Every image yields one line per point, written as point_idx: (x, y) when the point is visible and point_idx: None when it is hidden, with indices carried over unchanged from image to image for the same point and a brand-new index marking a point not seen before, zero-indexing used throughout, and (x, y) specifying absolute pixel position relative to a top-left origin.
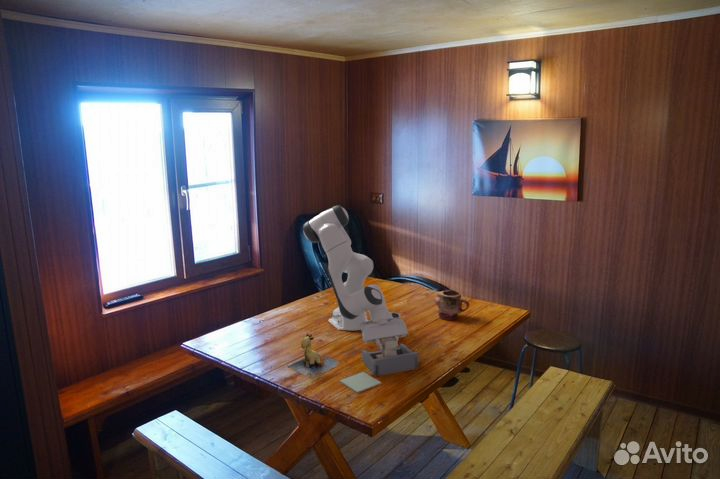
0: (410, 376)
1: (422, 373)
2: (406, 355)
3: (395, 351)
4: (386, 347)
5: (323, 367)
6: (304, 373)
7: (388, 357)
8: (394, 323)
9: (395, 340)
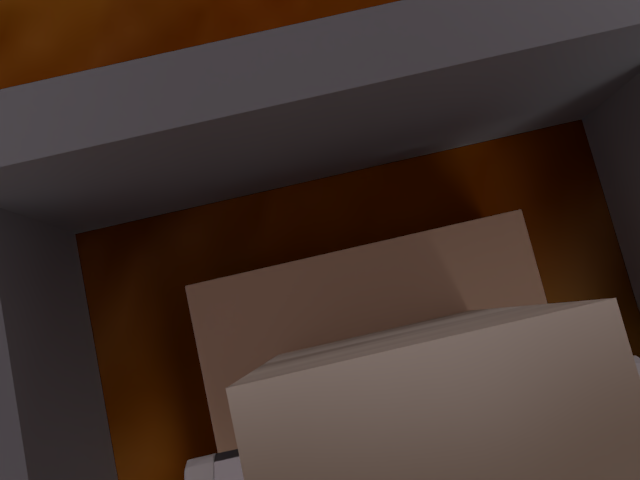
0: (175, 4)
1: (7, 58)
2: (110, 65)
3: (285, 359)
4: (527, 308)
5: None
6: None
7: (491, 21)
8: None
9: (242, 456)
